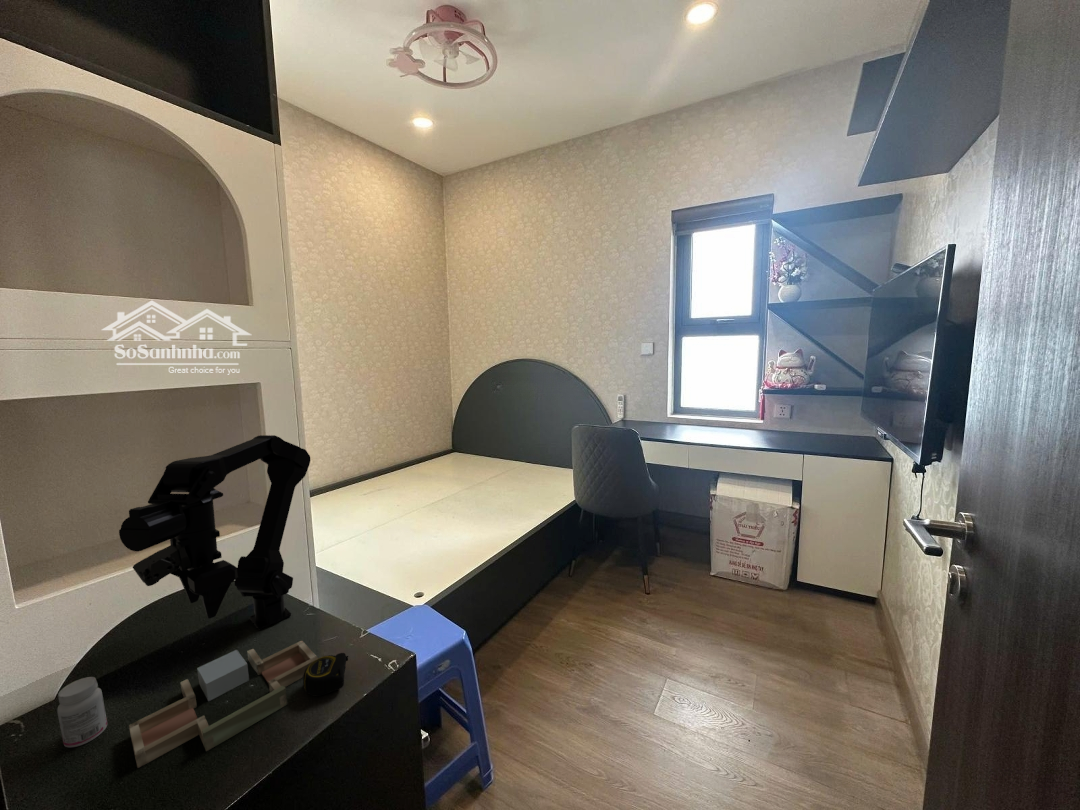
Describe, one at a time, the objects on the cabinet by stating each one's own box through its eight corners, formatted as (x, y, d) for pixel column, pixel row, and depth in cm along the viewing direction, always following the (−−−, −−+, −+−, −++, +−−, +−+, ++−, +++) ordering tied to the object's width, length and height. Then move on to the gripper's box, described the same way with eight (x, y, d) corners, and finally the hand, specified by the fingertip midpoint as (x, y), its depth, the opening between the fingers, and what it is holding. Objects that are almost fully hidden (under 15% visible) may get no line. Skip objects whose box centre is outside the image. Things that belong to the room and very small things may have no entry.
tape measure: (344, 694, 73) (342, 674, 73) (300, 705, 71) (298, 685, 71) (349, 667, 80) (347, 648, 79) (308, 676, 78) (307, 657, 77)
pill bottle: (76, 727, 68) (68, 679, 67) (114, 718, 69) (106, 671, 68) (55, 753, 63) (45, 702, 62) (96, 742, 65) (87, 692, 64)
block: (199, 685, 76) (197, 668, 76) (238, 666, 81) (236, 649, 80) (208, 702, 72) (206, 684, 72) (249, 681, 77) (247, 663, 76)
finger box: (126, 719, 69) (124, 702, 69) (293, 639, 88) (291, 625, 87) (142, 788, 58) (139, 769, 57) (329, 679, 76) (328, 664, 76)
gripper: (122, 531, 76) (130, 614, 77) (151, 556, 65) (161, 651, 67) (198, 514, 85) (204, 588, 87) (235, 533, 75) (242, 617, 76)
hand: (202, 609), depth 79 cm, fingers open, 9 cm apart
